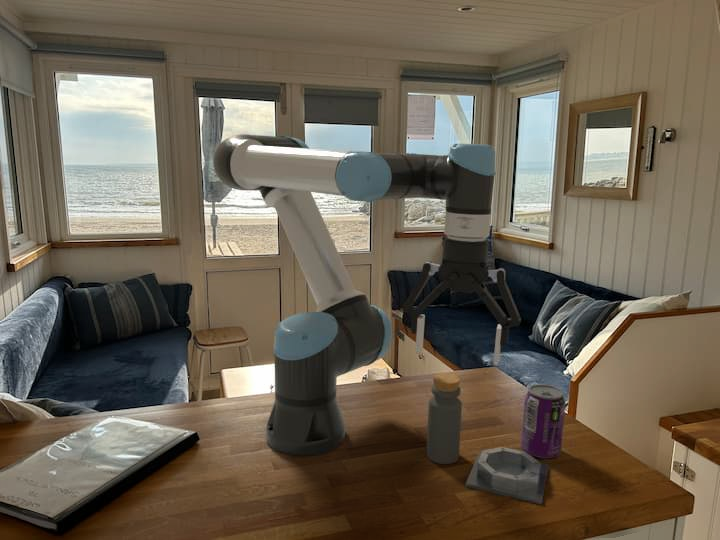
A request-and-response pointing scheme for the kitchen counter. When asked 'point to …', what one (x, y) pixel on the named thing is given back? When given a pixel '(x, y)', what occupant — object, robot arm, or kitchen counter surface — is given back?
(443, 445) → the bottle
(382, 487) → the kitchen counter surface
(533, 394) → the beverage can
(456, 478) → the kitchen counter surface
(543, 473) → the ring seat
